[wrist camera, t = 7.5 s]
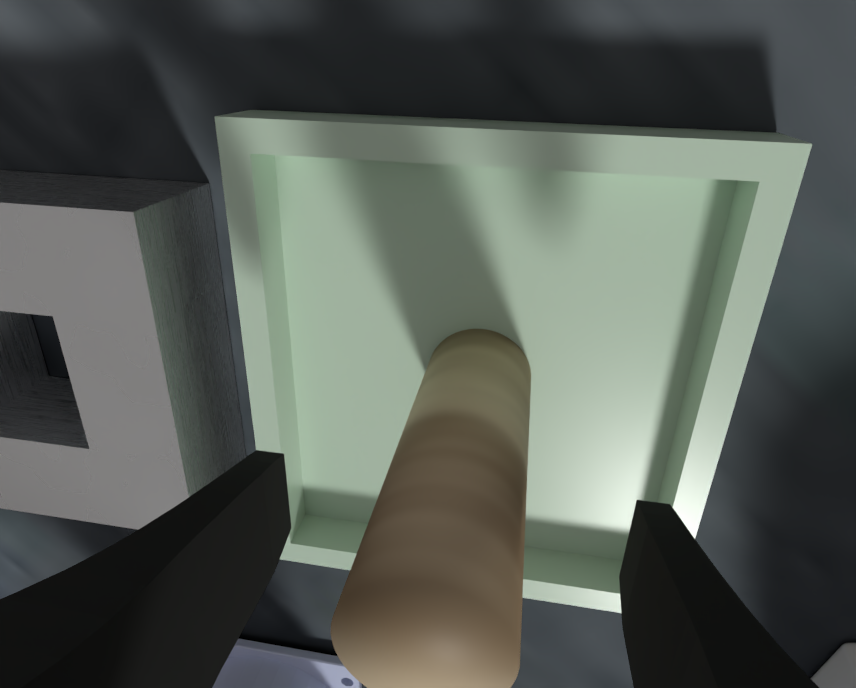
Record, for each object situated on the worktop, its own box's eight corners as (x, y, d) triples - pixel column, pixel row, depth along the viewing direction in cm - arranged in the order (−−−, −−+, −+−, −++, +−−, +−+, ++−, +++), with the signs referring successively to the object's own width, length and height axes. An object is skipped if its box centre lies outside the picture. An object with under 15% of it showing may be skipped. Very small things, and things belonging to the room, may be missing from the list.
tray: (659, 570, 20) (670, 620, 18) (291, 516, 22) (269, 557, 20) (777, 132, 14) (812, 144, 12) (251, 109, 16) (214, 116, 14)
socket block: (247, 468, 21) (197, 538, 18) (0, 434, 23) (-86, 494, 19) (209, 183, 17) (133, 212, 14) (-95, 164, 18) (-227, 185, 15)
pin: (526, 425, 18) (511, 726, 10) (427, 413, 18) (334, 693, 10) (536, 333, 16) (528, 596, 8) (429, 323, 17) (325, 564, 9)
